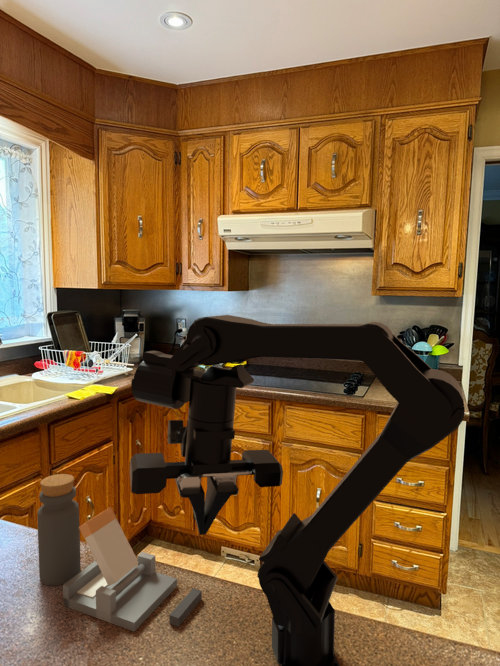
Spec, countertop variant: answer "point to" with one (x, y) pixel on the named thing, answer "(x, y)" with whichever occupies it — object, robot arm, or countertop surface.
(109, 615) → the grey twin-post base
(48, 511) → the bottle
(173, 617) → the long grey bar
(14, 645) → the countertop surface
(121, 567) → the lever
